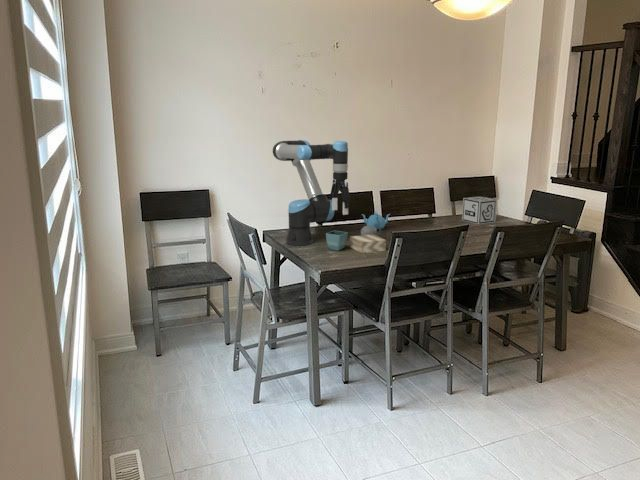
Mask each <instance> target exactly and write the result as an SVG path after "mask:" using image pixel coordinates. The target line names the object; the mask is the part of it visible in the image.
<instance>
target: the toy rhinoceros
mask: <svg viewBox="0 0 640 480" xmlns="http://www.w3.org/2000/svg"><path fill="white" fill-rule="evenodd" d="M375 228H376V227H374V228H373V227H372V226H371V227H370V226H367V225H364V226H362V228H361V229H360V236H361V235H371V234H374V235H376V236H377V234H378V233H377V229H375Z"/></svg>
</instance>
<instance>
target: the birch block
mask: <svg viewBox="0 0 640 480" xmlns="http://www.w3.org/2000/svg"><path fill="white" fill-rule="evenodd" d="M349 247H350V248H351V249H353V250H355V251H357V252H359V253H361V254H364V253H365V252H366V253H374V252H383V251H386V250H387V239H384V238H382V237H380V236H378V235H377V234H376V235H374V234H371V235H361V234H360V235H353V236H349Z"/></svg>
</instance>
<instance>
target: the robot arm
mask: <svg viewBox="0 0 640 480" xmlns="http://www.w3.org/2000/svg"><path fill="white" fill-rule="evenodd" d="M348 147H349V146H348V142H347V141H343V140H338V141H337V140H336V141H335V140H334V141H333V144H331V143H324V144H311V143H310V142H309V141H308V140H304V139H298V140H282V141H281V140H280V141H278V142H277V143H275V144H274V145H273V147H272V155H273V157H274V158H275V159H276V160H279V161H280V162H281V161H282V162H291V164H292V166H293V167H295V168H296V169H297V172H298V174H299V175H298V176H299V178H300V180H301V183H302V185H303V188H304V192H305V193H306V196H307V199H296V200H292V201H291V202H289V203H288V209H287V211H288V212H287V213H288V230H287V233H286V237H285V243H286V244H287V245H291V246H308V245H313V243H314V237H313V234H312V231H311V225H310V224H312V223H320V222H321V223H322V222H329V221H331V220H332V219H333V218H334V215H335V211H338V194H339V193H341V196H342V199H343V200H342V215H343V216H345V215H349V202H351V195H350V189H349V183H348V182H346V180H348V179H349V178H348V175H349V174H348V169H349V165H348V162H349V161H348V157H349V148H348ZM313 160H332V171H333V173H332V186H331V189H330V194H329V195H330V197H331V198H332V199H328V197H327V194H324V193H323V192H322V188H321V187H320V184H319V181H318V179H317V176H316V174H315V171H314V169H313V166H312V163H311V161H313Z"/></svg>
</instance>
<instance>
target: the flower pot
mask: <svg viewBox="0 0 640 480" xmlns="http://www.w3.org/2000/svg"><path fill="white" fill-rule="evenodd" d="M348 234H349V233H348V231H347V232H346V231H340V230H332V231H328V232H326V233H325V238H326V239H325V240H326V244H327V246H328V248H329V249H330V250H333V251H338V252H339V251H340V250H343V249H344V248H345V246H346V244H347V241H348V236H349V235H348Z"/></svg>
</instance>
